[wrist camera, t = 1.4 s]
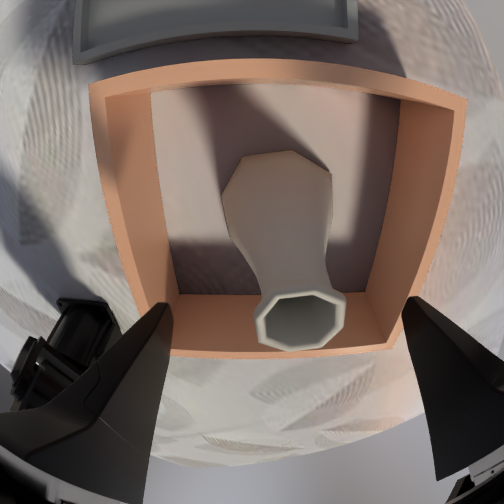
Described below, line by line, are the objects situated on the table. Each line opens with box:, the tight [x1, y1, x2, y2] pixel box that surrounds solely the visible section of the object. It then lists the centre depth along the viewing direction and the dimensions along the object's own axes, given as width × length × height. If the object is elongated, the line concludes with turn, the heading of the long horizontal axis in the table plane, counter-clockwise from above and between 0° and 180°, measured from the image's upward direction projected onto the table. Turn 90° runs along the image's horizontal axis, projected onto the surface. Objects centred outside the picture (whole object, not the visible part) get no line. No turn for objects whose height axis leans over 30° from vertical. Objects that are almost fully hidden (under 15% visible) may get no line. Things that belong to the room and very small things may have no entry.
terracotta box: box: [88, 59, 467, 359], centre depth 15 cm, size 17×17×6 cm
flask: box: [221, 150, 346, 352], centre depth 13 cm, size 7×7×10 cm
